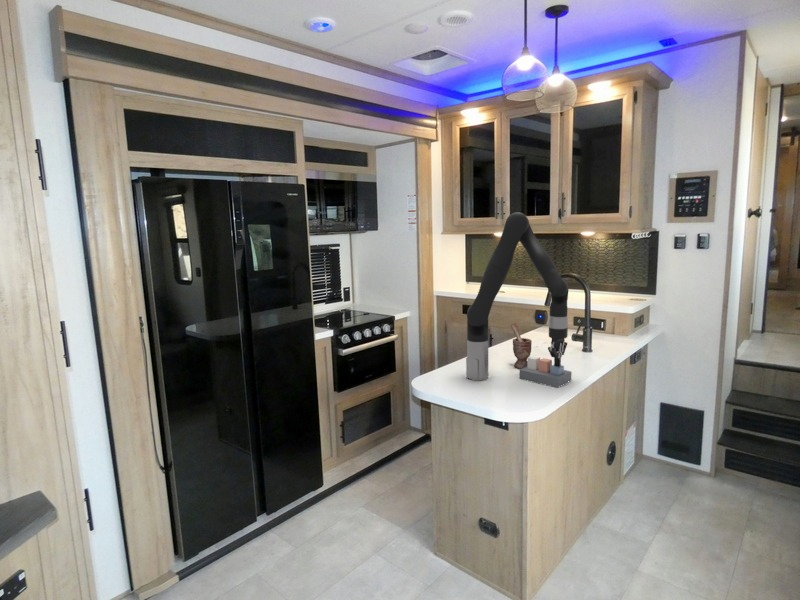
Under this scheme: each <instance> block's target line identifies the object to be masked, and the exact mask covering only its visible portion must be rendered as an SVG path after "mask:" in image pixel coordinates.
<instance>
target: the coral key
mask: <svg viewBox="0 0 800 600" xmlns="http://www.w3.org/2000/svg"><path fill="white" fill-rule="evenodd" d="M552 365H553V360H552V359H549V358H546V357H545V358H544V357H542V358H540V360H539V371H540V372H545V373H549V372H550V370H551V366H552Z"/></svg>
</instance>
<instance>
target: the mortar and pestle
mask: <svg viewBox="0 0 800 600" xmlns="http://www.w3.org/2000/svg"><path fill="white" fill-rule="evenodd" d="M510 326H511V328H510V329H512V331H513V334H514V336H515V338H513V339H512V350H513V351H512V352H513V355H514V357H515V358H516V359H517V360H516V361H515V363H514V366H513V367H515V368H517V369H523V368H525V367H527V361H528V358H529V357H531V353H532V342H533V341H532V339H530V338H527V337H522V336H521V334H520V330H519V328H518V327H519V326H518V325H517V323H515V322H514V323H511V325H510Z"/></svg>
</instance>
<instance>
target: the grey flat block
mask: <svg viewBox="0 0 800 600" xmlns="http://www.w3.org/2000/svg"><path fill="white" fill-rule="evenodd" d="M519 379H520V380H524V381H527V380H528V382H531V381H532V383H536V384H540V383H542V385H544V384H546V385H545V386H548V385H551V386H550V387H553V386H555V387H554V388H557V387H558V388H560V387H562V386H564V385H565V383H566V384H567V383H569V382H571V381H572V371H571V370H566V369H564V374H562V375H560V376H559V375H554V374H550V372H549V373H545V372H540V371H539V369H538V370H531V369H527V367H525V368H523V369H521V368H519ZM570 380H571V381H570ZM568 381H569V382H568ZM563 384H564V385H563ZM561 385H562V386H561ZM559 386H560V387H559Z"/></svg>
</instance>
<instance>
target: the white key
mask: <svg viewBox="0 0 800 600" xmlns="http://www.w3.org/2000/svg"><path fill="white" fill-rule="evenodd" d="M540 359H541V357H539V356H536V355H535V356H534V355H530V356H529V357H528V358H527V369H531V370H538V369H539V360H540Z"/></svg>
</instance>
